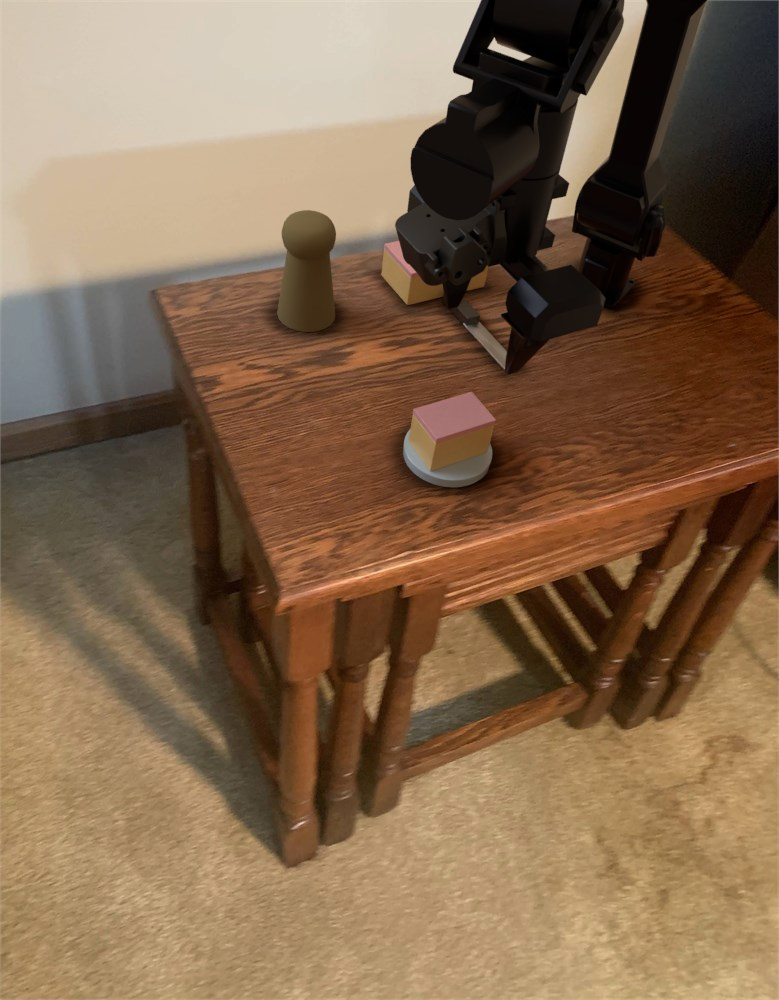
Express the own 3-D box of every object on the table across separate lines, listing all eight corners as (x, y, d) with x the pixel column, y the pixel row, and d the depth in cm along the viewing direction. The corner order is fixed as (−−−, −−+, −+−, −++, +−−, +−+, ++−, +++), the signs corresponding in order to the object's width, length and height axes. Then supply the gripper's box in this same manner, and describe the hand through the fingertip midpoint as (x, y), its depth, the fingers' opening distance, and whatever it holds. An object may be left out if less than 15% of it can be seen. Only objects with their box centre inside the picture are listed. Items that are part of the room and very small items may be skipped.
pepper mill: (269, 301, 88) (268, 205, 80) (323, 293, 90) (328, 198, 82) (288, 336, 85) (289, 239, 76) (343, 326, 87) (350, 230, 78)
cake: (380, 275, 93) (384, 243, 90) (456, 258, 97) (462, 227, 94) (407, 305, 90) (411, 273, 87) (484, 286, 94) (491, 255, 91)
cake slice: (407, 441, 75) (413, 408, 72) (464, 424, 77) (471, 391, 74) (430, 471, 73) (436, 439, 70) (487, 452, 75) (496, 420, 72)
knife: (455, 298, 92) (456, 288, 91) (518, 367, 85) (521, 357, 84) (441, 301, 91) (442, 292, 90) (504, 371, 84) (506, 361, 84)
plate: (434, 412, 79) (435, 404, 79) (506, 452, 77) (508, 444, 76) (385, 458, 75) (386, 450, 74) (460, 502, 72) (462, 494, 71)
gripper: (355, 115, 60) (344, 296, 72) (496, 254, 50) (456, 438, 62) (485, 95, 64) (454, 269, 76) (639, 220, 54) (576, 399, 66)
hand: (480, 338), depth 70 cm, fingers open, 9 cm apart
